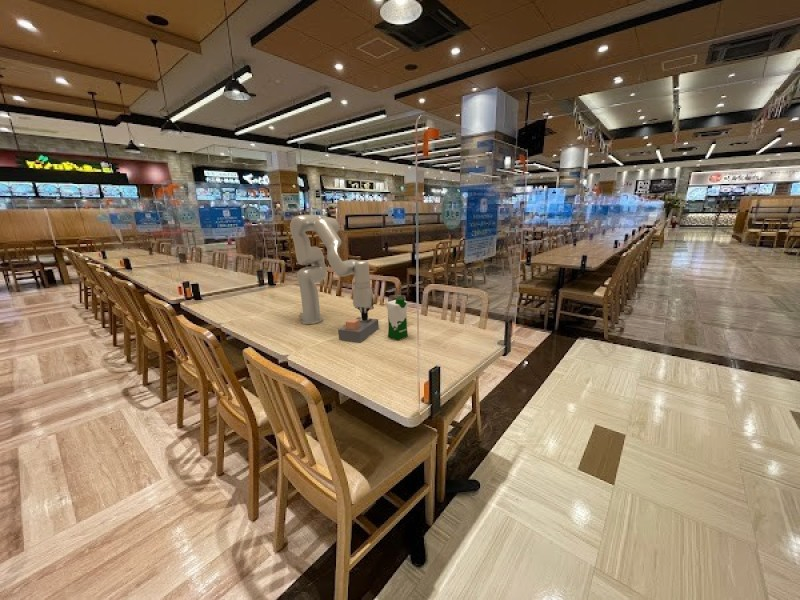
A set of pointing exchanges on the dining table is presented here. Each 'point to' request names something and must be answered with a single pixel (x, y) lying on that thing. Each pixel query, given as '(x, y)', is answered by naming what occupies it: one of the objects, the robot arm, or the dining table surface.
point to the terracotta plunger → (352, 324)
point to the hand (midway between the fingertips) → (364, 319)
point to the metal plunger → (365, 320)
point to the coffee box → (393, 297)
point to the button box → (359, 331)
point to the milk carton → (397, 318)
